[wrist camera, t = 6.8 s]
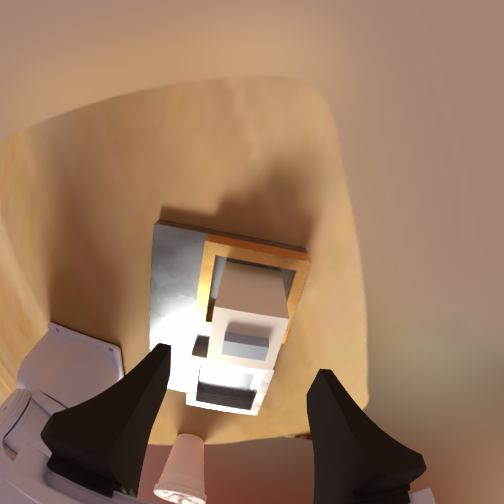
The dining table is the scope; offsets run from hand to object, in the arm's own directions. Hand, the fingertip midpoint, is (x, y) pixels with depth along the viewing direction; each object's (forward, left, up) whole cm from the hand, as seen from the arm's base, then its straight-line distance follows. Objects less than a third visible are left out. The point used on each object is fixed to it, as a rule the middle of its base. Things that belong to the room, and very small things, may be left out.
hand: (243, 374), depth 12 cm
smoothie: (-3, -26, -10) cm, 28 cm away
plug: (0, 0, -9) cm, 9 cm away
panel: (-2, -5, -10) cm, 11 cm away
